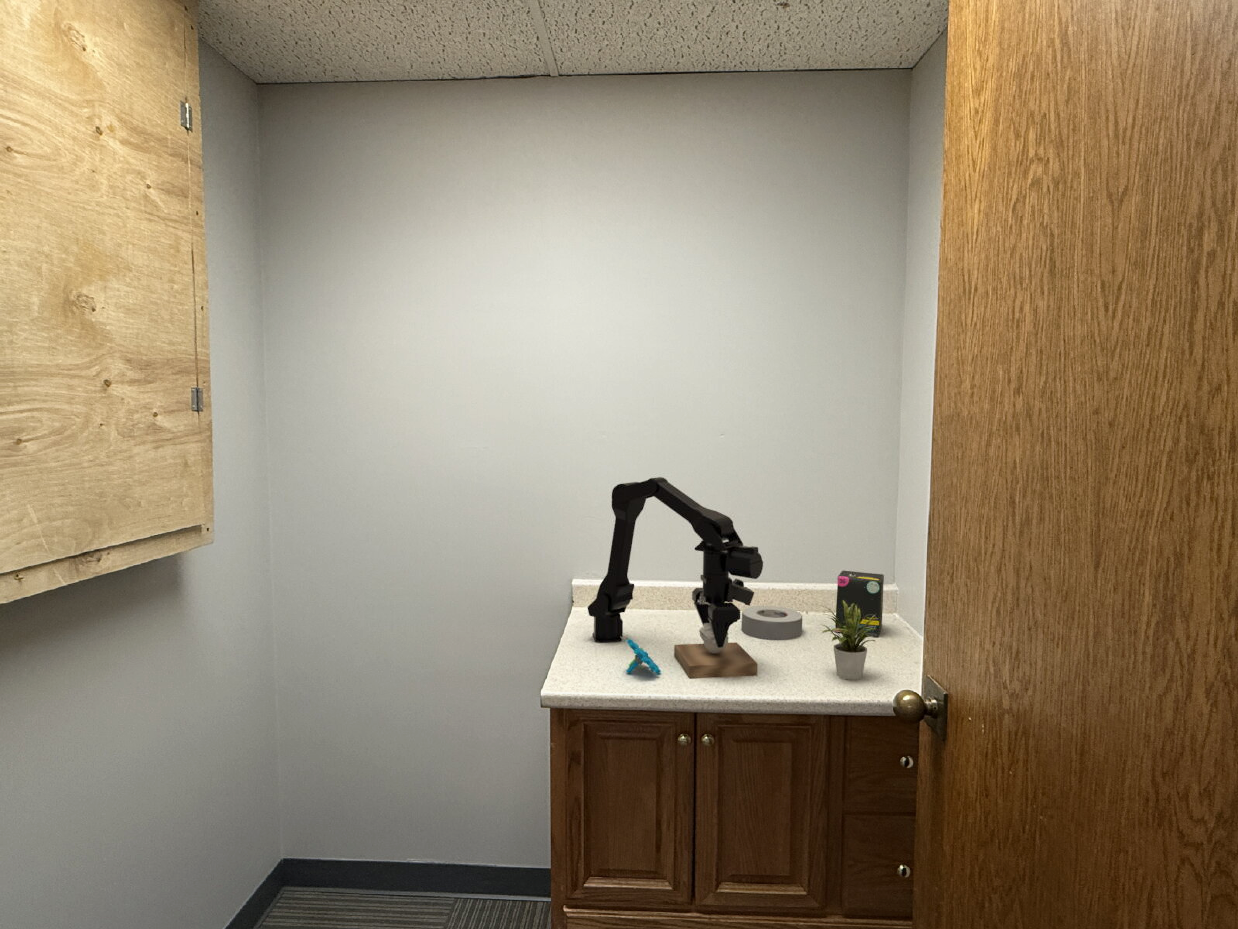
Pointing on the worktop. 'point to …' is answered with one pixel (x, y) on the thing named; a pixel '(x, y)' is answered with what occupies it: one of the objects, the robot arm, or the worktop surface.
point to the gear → (641, 658)
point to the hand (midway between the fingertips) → (714, 641)
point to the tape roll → (771, 623)
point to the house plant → (849, 644)
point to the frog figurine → (711, 639)
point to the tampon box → (861, 599)
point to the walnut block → (714, 661)
